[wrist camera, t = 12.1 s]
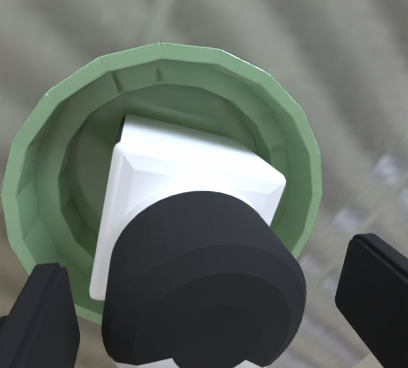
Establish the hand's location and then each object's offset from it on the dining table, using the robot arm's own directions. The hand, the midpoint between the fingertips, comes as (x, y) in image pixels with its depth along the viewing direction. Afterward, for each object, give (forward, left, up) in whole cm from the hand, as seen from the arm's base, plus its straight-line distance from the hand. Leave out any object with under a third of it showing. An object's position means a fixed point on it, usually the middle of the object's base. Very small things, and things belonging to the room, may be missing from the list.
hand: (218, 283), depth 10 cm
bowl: (0, +1, -11) cm, 11 cm away
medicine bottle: (0, +1, -10) cm, 10 cm away
